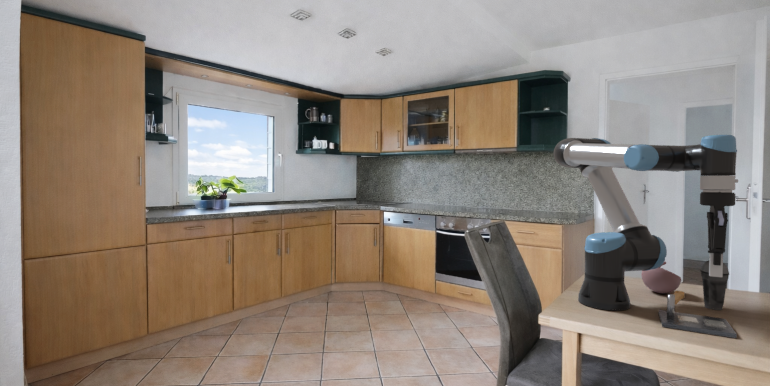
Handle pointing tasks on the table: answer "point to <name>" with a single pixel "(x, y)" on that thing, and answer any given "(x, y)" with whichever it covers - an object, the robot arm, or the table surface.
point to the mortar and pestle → (661, 280)
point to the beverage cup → (714, 287)
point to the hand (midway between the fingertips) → (715, 276)
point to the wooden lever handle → (678, 296)
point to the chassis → (694, 321)
